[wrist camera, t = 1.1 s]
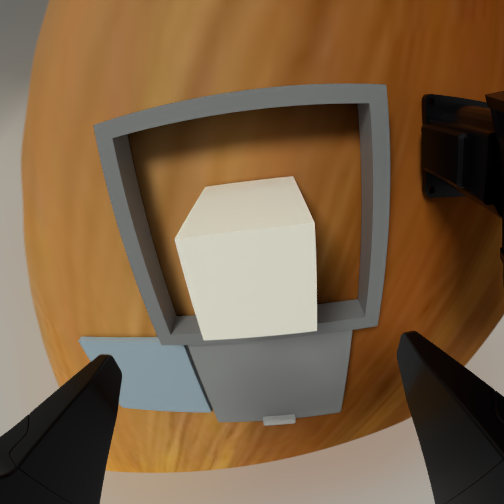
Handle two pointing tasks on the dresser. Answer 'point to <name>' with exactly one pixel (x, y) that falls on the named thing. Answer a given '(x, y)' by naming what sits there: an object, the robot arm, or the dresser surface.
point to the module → (250, 260)
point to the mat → (152, 373)
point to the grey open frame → (328, 314)
